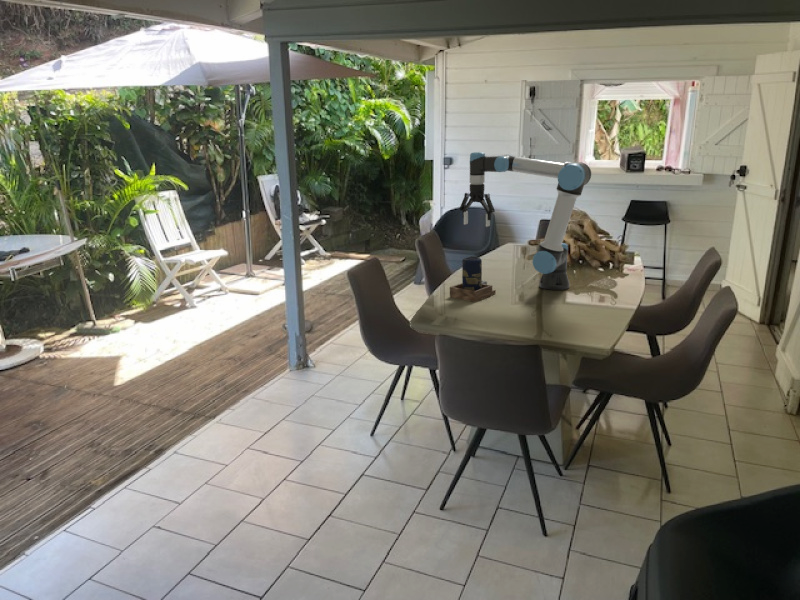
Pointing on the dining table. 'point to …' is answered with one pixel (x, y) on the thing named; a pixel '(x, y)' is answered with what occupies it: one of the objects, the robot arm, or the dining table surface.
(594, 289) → the dining table surface
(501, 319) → the dining table surface
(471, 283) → the canister
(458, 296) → the wooden tray
